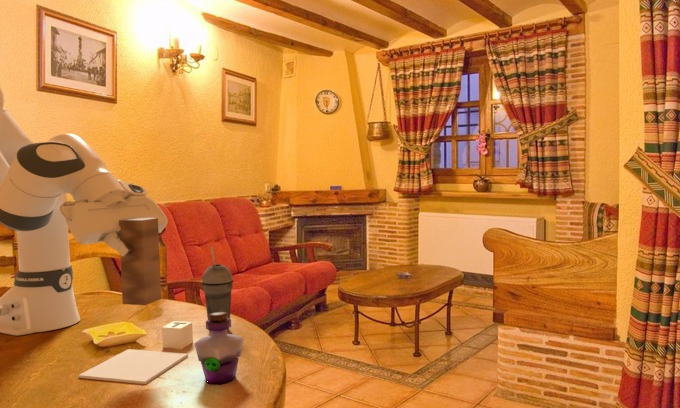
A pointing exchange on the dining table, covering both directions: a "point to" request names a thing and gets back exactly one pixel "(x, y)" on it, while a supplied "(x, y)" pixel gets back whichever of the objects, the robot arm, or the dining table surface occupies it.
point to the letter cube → (177, 334)
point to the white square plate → (134, 366)
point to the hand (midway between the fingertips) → (142, 250)
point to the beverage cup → (217, 288)
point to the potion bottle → (219, 350)
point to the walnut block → (140, 261)
